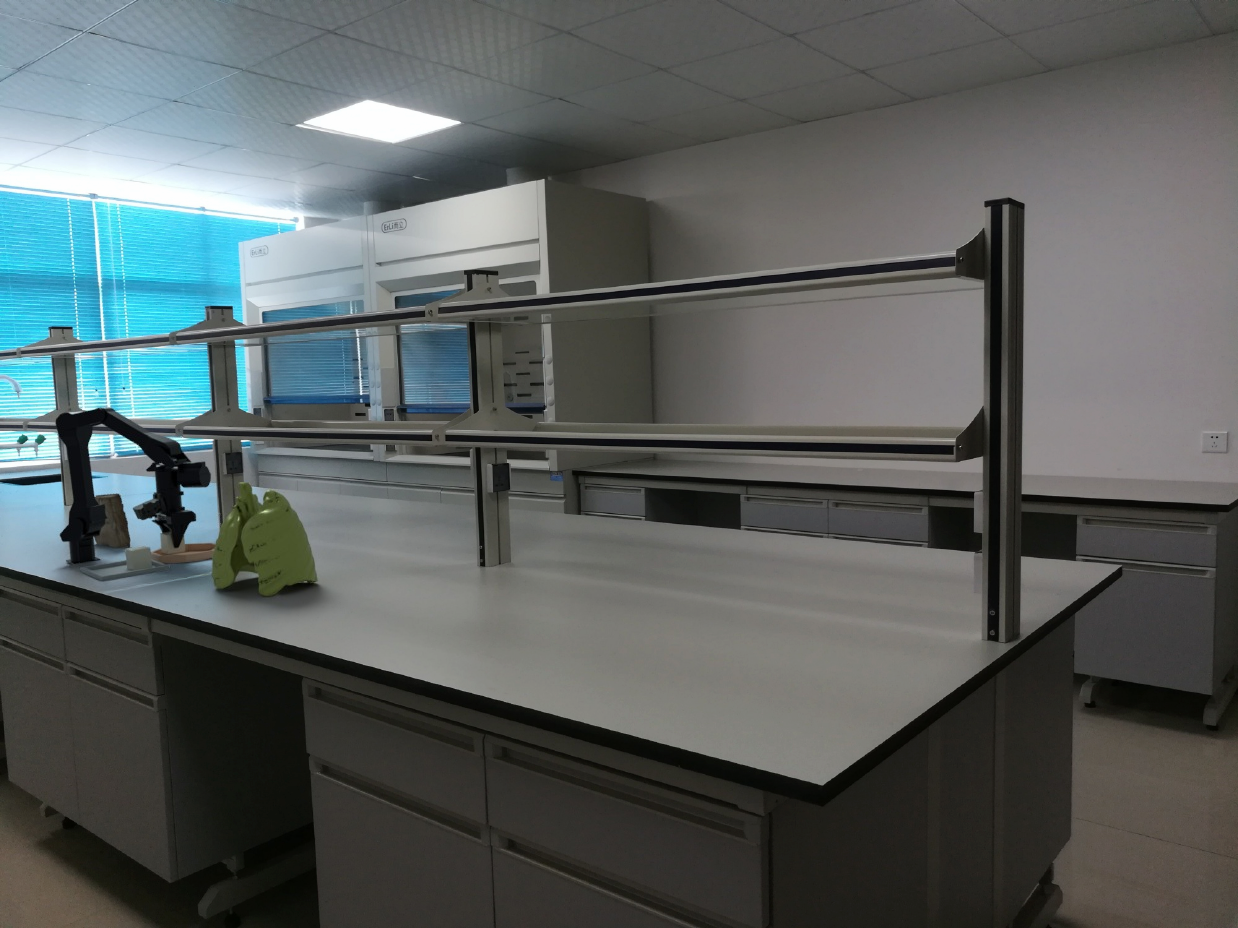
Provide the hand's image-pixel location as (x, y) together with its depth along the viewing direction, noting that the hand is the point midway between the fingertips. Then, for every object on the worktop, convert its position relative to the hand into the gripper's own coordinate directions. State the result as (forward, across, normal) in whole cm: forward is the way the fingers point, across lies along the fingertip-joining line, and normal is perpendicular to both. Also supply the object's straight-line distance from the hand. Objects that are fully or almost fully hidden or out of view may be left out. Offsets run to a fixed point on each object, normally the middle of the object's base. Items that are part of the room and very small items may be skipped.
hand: (173, 546), depth 235 cm
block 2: (+1, 0, 0) cm, 1 cm away
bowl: (+4, 0, +3) cm, 5 cm away
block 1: (+3, +5, -10) cm, 12 cm away
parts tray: (+4, +5, -14) cm, 15 cm away
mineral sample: (+4, -40, -3) cm, 40 cm away
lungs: (+4, +49, +2) cm, 49 cm away
